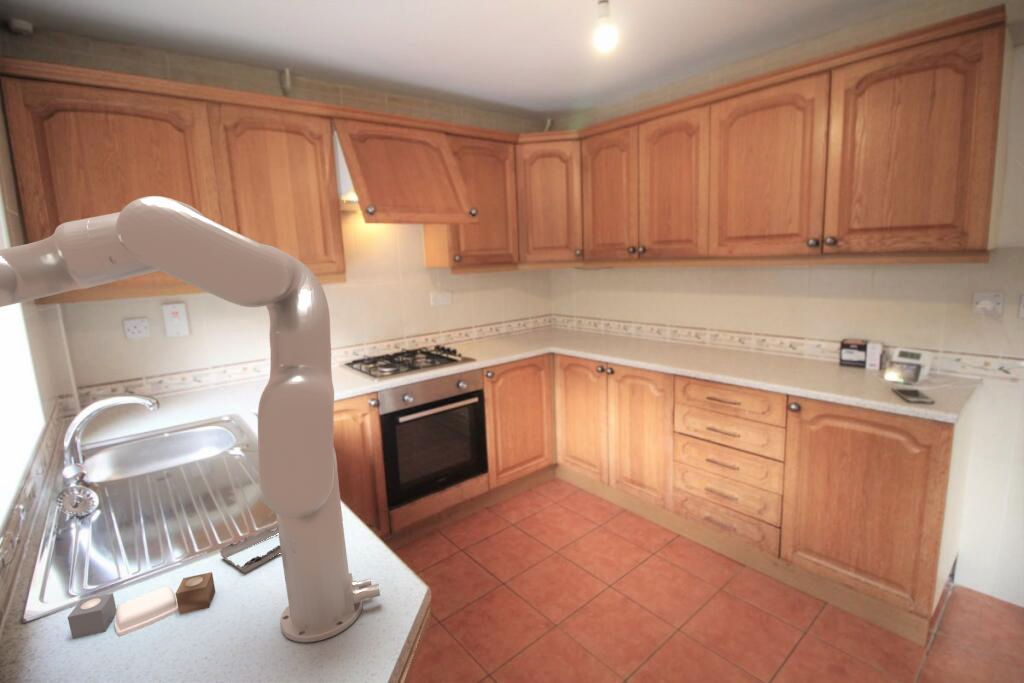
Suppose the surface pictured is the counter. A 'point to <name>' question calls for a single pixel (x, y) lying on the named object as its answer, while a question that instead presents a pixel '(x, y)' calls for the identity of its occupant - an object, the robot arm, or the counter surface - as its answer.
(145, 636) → the counter surface
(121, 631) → the soap
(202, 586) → the walnut block
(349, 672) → the counter surface
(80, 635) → the slate grey block
